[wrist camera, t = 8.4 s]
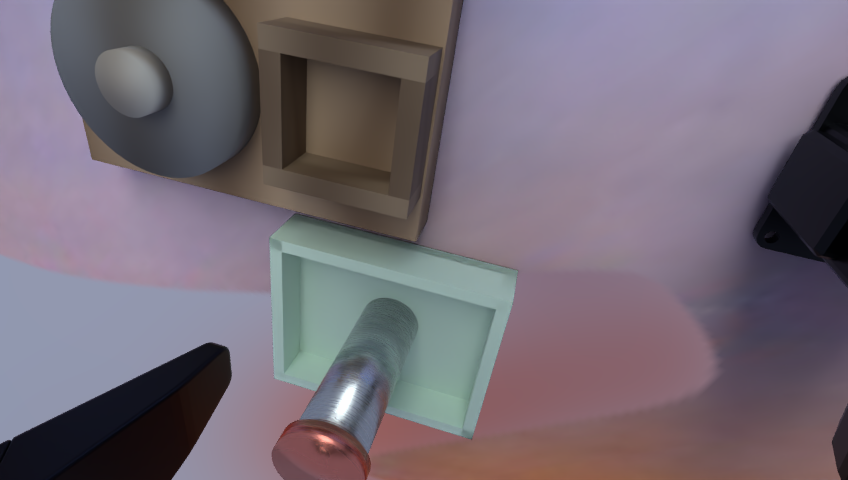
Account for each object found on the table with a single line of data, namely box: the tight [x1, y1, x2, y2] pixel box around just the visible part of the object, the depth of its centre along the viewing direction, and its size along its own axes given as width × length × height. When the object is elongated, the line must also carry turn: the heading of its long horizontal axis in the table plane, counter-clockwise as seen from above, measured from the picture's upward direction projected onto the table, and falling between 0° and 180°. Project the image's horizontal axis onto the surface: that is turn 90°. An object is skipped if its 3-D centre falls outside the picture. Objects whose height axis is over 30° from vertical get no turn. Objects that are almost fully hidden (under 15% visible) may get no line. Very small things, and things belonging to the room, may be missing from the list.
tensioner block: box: [51, 0, 463, 242], centre depth 19 cm, size 16×10×4 cm, turn 82°
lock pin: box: [272, 298, 418, 480], centre depth 21 cm, size 4×4×9 cm
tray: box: [269, 214, 518, 440], centre depth 25 cm, size 11×9×2 cm
